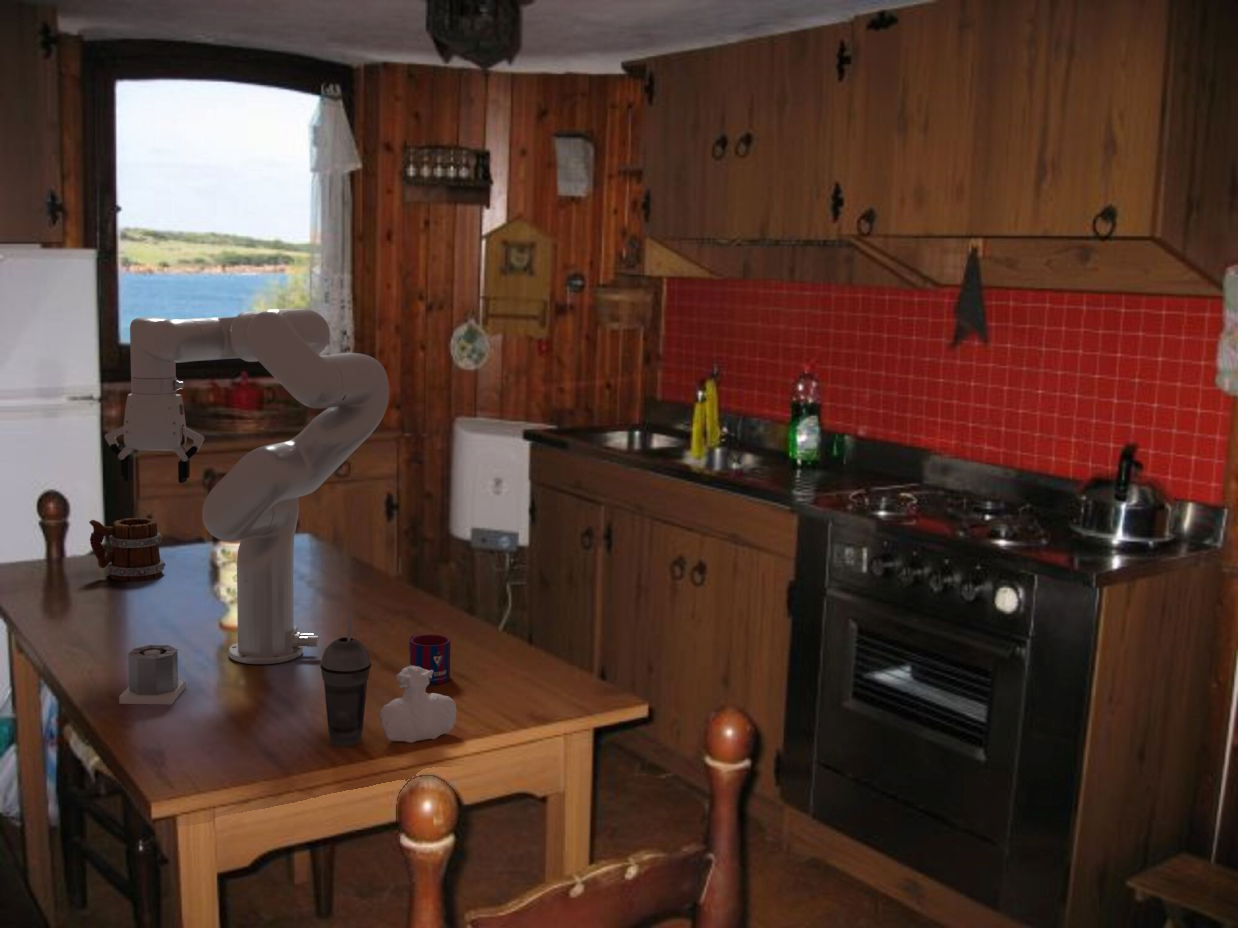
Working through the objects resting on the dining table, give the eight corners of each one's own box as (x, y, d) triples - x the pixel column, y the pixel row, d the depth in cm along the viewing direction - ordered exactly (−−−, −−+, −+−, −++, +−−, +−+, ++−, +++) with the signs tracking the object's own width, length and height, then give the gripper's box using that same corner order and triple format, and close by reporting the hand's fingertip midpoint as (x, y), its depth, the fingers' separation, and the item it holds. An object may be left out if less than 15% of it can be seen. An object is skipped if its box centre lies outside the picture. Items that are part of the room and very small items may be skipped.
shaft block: (185, 687, 209) (185, 644, 208) (171, 704, 201) (170, 660, 200) (135, 686, 208) (134, 643, 207) (119, 703, 200) (118, 659, 199)
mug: (175, 577, 276) (161, 510, 272) (106, 595, 268) (91, 527, 265) (162, 565, 285) (148, 500, 281) (95, 582, 278) (80, 516, 274)
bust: (453, 742, 196) (437, 672, 200) (469, 726, 190) (452, 654, 194) (377, 754, 190) (362, 682, 194) (391, 738, 184) (375, 664, 189)
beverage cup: (349, 727, 194) (349, 599, 191) (381, 740, 189) (382, 609, 186) (309, 740, 188) (309, 608, 185) (341, 754, 184) (341, 618, 181)
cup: (418, 687, 213) (419, 647, 212) (397, 669, 222) (397, 631, 220) (456, 681, 216) (456, 642, 215) (433, 664, 225) (433, 627, 224)
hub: (181, 681, 208) (180, 645, 207) (169, 695, 201) (168, 658, 200) (138, 680, 208) (137, 644, 207) (125, 694, 201) (124, 657, 200)
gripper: (208, 386, 235) (209, 478, 237) (111, 383, 233) (113, 476, 236) (197, 390, 227) (198, 486, 230) (97, 387, 226) (99, 483, 229)
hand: (155, 481), depth 233 cm, fingers open, 9 cm apart
